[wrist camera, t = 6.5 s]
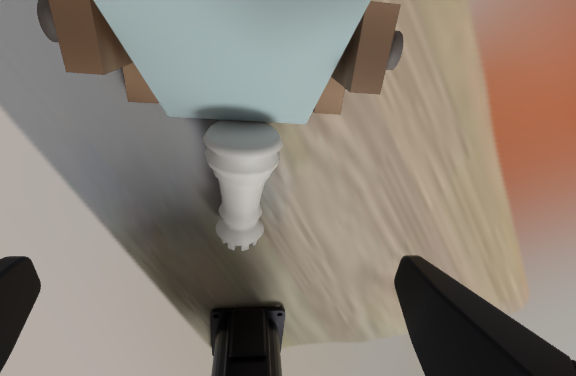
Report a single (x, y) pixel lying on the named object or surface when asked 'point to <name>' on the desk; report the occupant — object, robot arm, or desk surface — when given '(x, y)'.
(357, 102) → the desk surface
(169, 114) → the pivoting flap
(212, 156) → the rook chess piece
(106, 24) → the flap frame
